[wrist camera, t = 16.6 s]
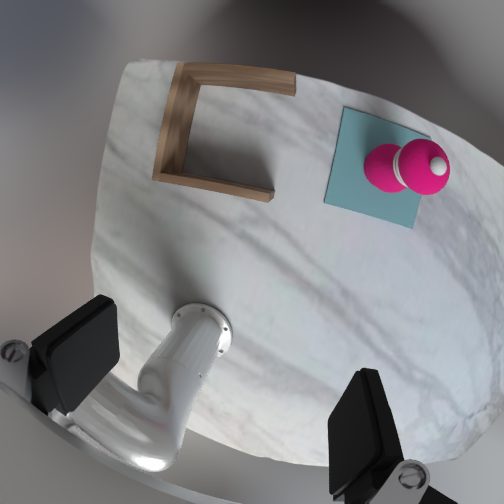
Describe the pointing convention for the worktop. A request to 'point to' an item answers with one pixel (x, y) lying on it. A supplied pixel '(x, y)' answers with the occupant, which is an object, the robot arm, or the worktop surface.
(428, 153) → the pepper mill
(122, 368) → the worktop surface
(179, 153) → the open side box
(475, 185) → the worktop surface
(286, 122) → the worktop surface
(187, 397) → the robot arm
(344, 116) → the mat
